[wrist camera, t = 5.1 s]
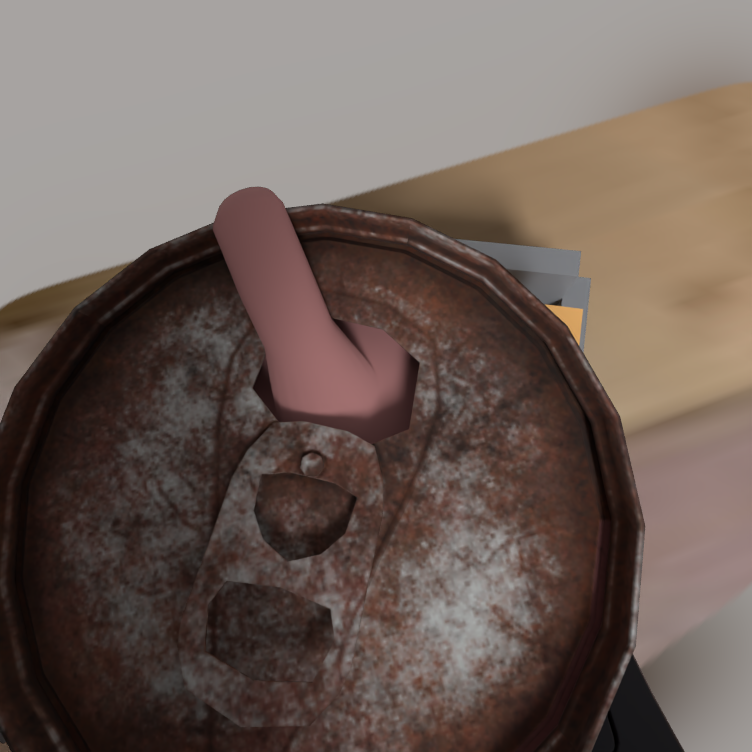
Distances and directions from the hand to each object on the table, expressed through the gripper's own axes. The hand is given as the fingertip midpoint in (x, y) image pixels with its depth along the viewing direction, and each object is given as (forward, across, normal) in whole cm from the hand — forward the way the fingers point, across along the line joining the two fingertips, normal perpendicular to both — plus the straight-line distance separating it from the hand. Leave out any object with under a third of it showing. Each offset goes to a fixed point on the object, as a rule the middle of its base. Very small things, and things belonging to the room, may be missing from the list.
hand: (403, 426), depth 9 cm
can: (+4, +1, +7) cm, 8 cm away
